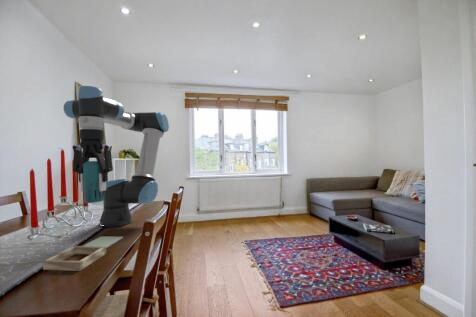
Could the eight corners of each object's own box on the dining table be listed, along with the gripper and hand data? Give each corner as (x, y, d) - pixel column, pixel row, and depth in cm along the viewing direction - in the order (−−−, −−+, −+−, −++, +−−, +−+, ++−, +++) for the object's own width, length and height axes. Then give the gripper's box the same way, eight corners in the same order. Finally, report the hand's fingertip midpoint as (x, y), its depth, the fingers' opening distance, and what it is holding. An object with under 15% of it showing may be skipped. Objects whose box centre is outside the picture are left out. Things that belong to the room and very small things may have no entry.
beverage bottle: (94, 207, 79) (92, 152, 78) (78, 206, 80) (77, 152, 79) (108, 203, 85) (107, 151, 84) (93, 202, 86) (92, 152, 86)
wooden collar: (74, 252, 79) (74, 245, 79) (106, 253, 79) (106, 246, 79) (43, 269, 67) (43, 261, 67) (80, 270, 67) (80, 262, 67)
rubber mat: (100, 237, 95) (100, 236, 95) (123, 237, 94) (123, 236, 94) (81, 247, 84) (81, 246, 84) (106, 248, 83) (106, 247, 83)
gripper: (58, 128, 78) (60, 192, 79) (110, 127, 77) (112, 192, 78) (74, 130, 86) (76, 188, 87) (122, 129, 85) (124, 188, 86)
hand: (93, 190), depth 82 cm, fingers closed on beverage bottle, 6 cm apart
